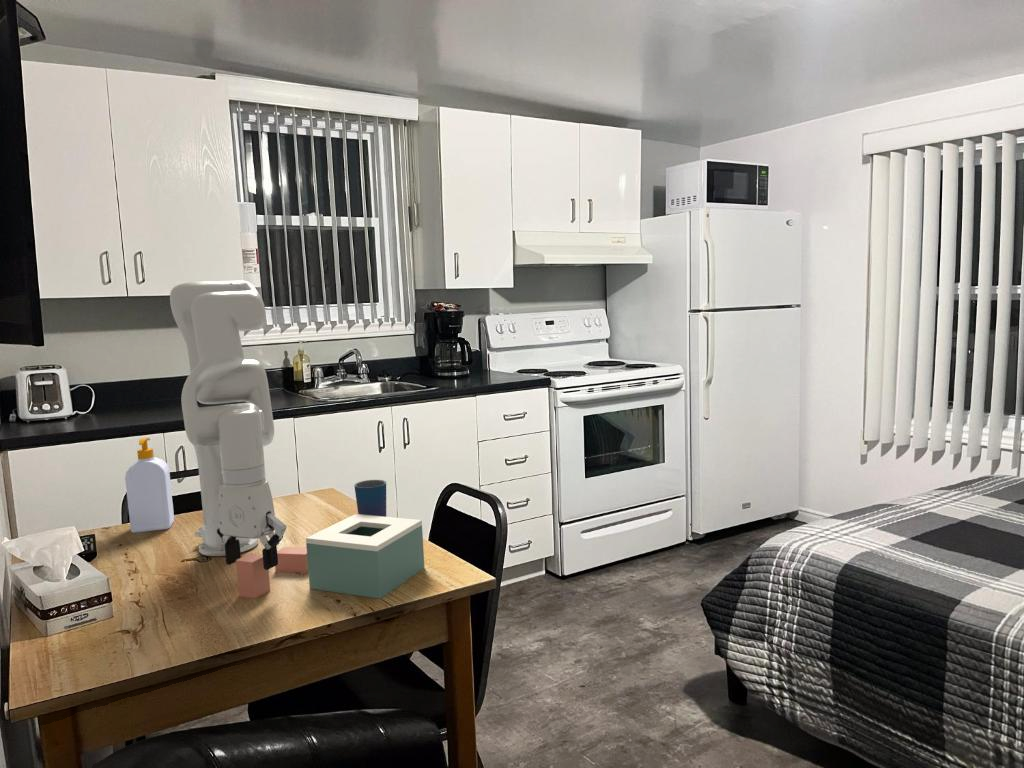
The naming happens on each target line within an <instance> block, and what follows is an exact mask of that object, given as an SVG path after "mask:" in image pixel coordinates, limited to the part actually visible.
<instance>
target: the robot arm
mask: <svg viewBox="0 0 1024 768" xmlns="http://www.w3.org/2000/svg"><path fill="white" fill-rule="evenodd" d="M169 301H170V302H169V303H170V307H171V313H172V316H173V319H174V321H175V323H176V326H177V328H178V329H179V331H180V333H181V335H182V337H183V339H184V342H185V344H186V349H187V355H188V363H189V371H190V373H189V374H188V375H187V378H186V380H185V382H184V384H183V388H182V389H181V390H182V391H181V396H180V397H181V400H180V401H181V410H182V416H183V417H182V418H183V423H184V424H183V425H184V430H185V433H186V437H187V440H188V441H189V443H190V444H192V446H193V447H194V451H195V456H196V462H197V468H198V477H199V485H200V495H201V506H202V517H203V525H201V526H199V527H198V530H196V531H195V532H194V536H195V537H196V538H202V543H201V544H199V546H198V552H199V554H201V555H203V556H208V557H224V556H225V563H226V565H229V566H230V565H232V564H234V563H236V560H237V559H239V558H242V557H241V556H242V554H241V553H244V552H246V551H249V550H252V549H253V548H255V547H256V546H257V545H258V544H259V541H260V543H261V544H262V546H263V548H262V551H261V554H262V555H263V566H264V569H265V570H270V569H272V568H275V566H276V565H278V556H277V551H278V545H279V544H280V542H281V540H283V538H284V535H285V532H286V530H287V525H286V524H285V522H283V521H281V520H280V519H279V518H277V517H276V515H275V506H274V502H273V495H272V492H271V487H270V485H269V480H267V478H266V477H267V476H266V465H265V453H264V447H266V446H268V445H270V444H271V443H272V442H273V440H274V437H275V424H274V417H273V415H274V414H273V409H272V402H271V395H270V394H271V393H270V387H269V381H268V377H267V371H266V370H265V367H264V366H263V364H262V362H260V361H258V360H256V359H251V358H246V359H245V354H244V350H243V345H242V341H241V335H240V332H247V331H259V330H261V329H262V328H263V327H264V326H265V324H266V317H267V316H266V306H265V302H264V300H263V298H262V296H261V294H260V293H259V291H258V290H257V289H256V288H255V286H254V285H253V284H252V283H250V282H249V281H246V280H218V281H217V280H216V281H215V280H214V281H213V280H212V281H210V280H209V281H191V282H183V283H180V284H177V285H175V286H174V287H173V288H172V289H171V290H170V295H169ZM198 402H199V403H200V404H203V405H210V406H202V407H201V406H199V405H198ZM240 402H242V403H240ZM227 403H228V404H227ZM230 403H232V404H230ZM218 404H219V405H218ZM220 404H221V405H220ZM267 536H268V537H267ZM268 538H269V539H268Z"/></svg>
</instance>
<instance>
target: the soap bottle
mask: <svg viewBox="0 0 1024 768" xmlns="http://www.w3.org/2000/svg"><path fill="white" fill-rule="evenodd" d="M148 441H151V438H149V437H144V438H141V437H140V438H139V440H138V445H139V446H141V449H138V450H137V452H136V453H137V460H136V461H134V463H133V464H132V465H130V467H129V468H128V469H127V471H126V472H125V477H124V479H125V480H124V481H125V488H126V499H127V506H128V516H129V527H130V532H131V533H133V534H136V533H143V532H145V533H146V532H151V531H152V532H155V531H161V530H169V529H170V528H171V527H172V525H173V524H174V521H175V515H174V512H175V511H174V503H173V497H172V495H173V493H172V485H171V484H172V482H171V475H170V474H171V473H170V468H169V465H168V463H167V462H165V461H164V460H163V459H162V458H160V457H155V456H154V448H152V447H151V448H149V446H148Z"/></svg>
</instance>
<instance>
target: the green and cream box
mask: <svg viewBox="0 0 1024 768" xmlns="http://www.w3.org/2000/svg"><path fill="white" fill-rule="evenodd" d="M305 543H306V544H305V545H306V547H307V559H308V580H309V589H311V590H316V591H317V590H318V591H325V592H331V593H338V594H339V593H340V594H344V595H353V596H358V597H365V598H371V599H377V600H380V599H383V598H384V597H386V596H387V595H388V594H389V593H391V592H393V590H395V589H397V588H398V587H400V586H401V585H403V584H404V583H405V582H407V581H408V580H410V579H411V578H412V577H414V576H415V575H416V574H418V573H419V572H421V571H422V570H424V569H425V568H426V567H425V556H424V555H425V553H424V552H425V551H424V536H423V521H422V519H414V518H413V519H412V518H405V517H404V518H403V517H395V516H394V517H391V516H386V517H383V516H373V515H362V514H358V513H354V514H353V515H350V516H348V517H346V518H344V519H342V520H340V521H338V522H335V523H334V524H332V525H330V526H328V527H325V528H323V529H322V530H319V531H318V532H317V531H316V533H313V534H311V535H309V536H307V537H305Z"/></svg>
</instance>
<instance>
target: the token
mask: <svg viewBox="0 0 1024 768" xmlns="http://www.w3.org/2000/svg"><path fill="white" fill-rule="evenodd" d="M277 556H278V565H276V566H274V568H275V570H274V571H275V572H280V573H281V572H284V573H287V572H288V573H304V574H305V573H309V571H308V559H307V546H306V547H305V546H283V547H281V548H280V549H277Z"/></svg>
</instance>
